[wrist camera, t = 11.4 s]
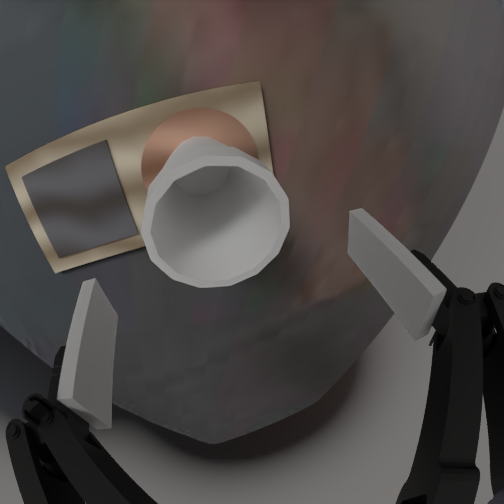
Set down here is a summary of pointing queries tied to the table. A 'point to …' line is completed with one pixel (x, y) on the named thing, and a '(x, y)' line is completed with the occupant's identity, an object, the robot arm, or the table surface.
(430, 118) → the table surface
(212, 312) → the table surface
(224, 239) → the foam cup
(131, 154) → the sorting board
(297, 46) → the table surface
